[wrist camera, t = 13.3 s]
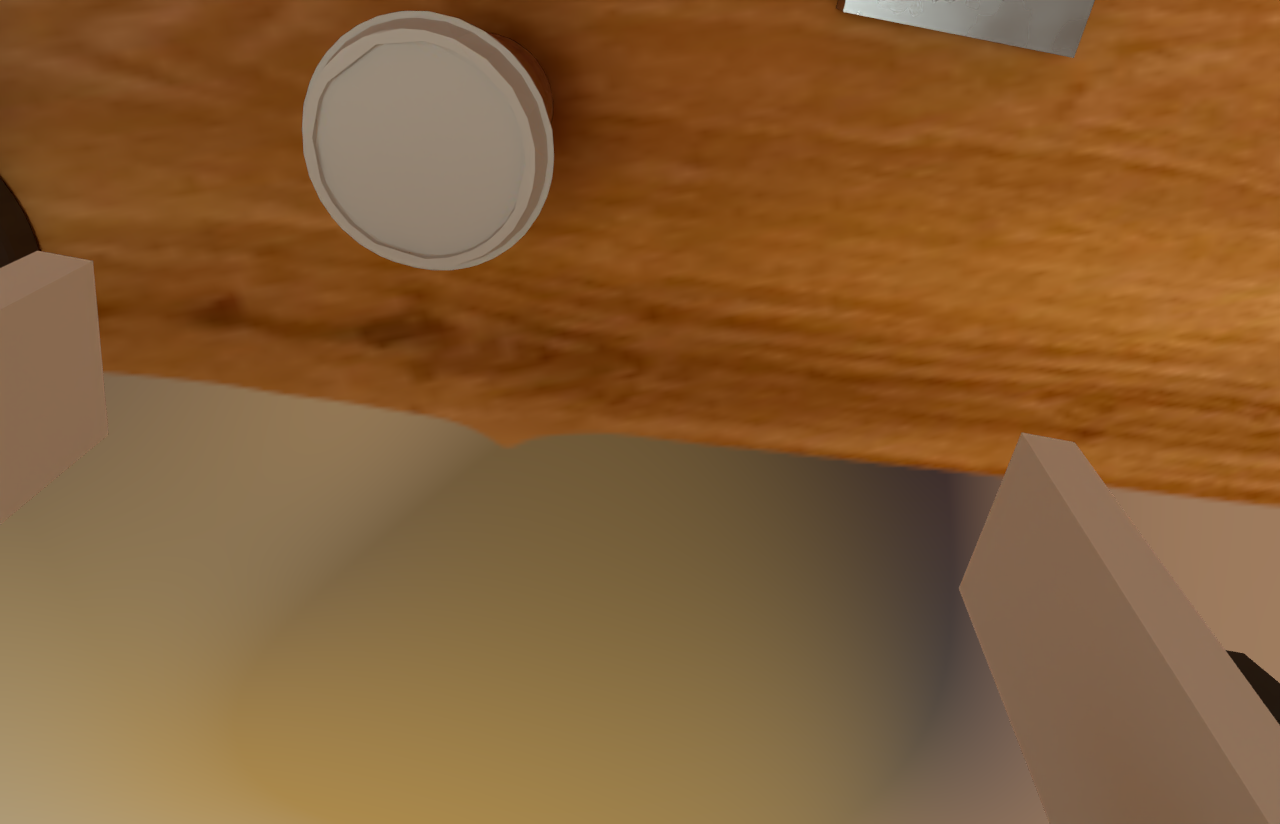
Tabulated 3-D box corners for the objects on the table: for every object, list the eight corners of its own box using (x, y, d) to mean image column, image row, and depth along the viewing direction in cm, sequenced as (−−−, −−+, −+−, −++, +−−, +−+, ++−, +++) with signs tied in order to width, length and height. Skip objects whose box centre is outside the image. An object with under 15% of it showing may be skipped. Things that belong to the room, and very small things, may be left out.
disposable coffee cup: (577, -13, 43) (532, 3, 32) (595, 198, 47) (561, 275, 36) (371, 1, 44) (260, 22, 33) (407, 207, 48) (319, 285, 37)
